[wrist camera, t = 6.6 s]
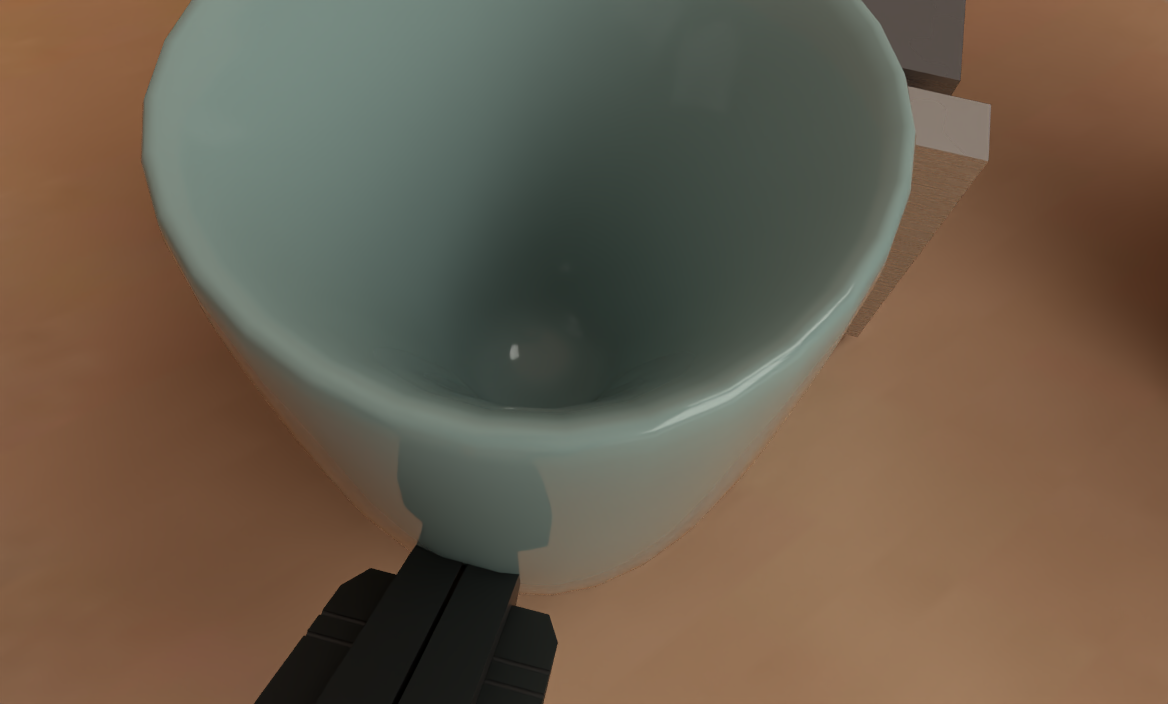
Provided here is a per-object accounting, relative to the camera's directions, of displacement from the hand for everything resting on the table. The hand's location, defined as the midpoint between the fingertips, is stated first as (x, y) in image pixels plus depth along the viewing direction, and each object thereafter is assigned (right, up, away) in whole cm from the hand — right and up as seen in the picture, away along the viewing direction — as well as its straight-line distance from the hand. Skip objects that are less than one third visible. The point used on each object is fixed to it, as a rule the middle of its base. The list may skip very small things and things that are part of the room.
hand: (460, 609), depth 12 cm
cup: (+1, +2, +6) cm, 6 cm away
